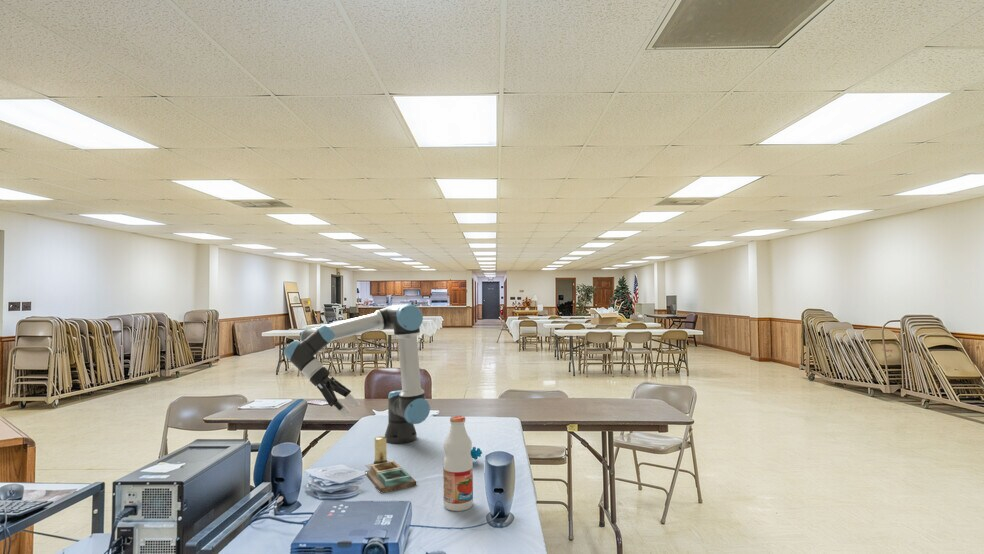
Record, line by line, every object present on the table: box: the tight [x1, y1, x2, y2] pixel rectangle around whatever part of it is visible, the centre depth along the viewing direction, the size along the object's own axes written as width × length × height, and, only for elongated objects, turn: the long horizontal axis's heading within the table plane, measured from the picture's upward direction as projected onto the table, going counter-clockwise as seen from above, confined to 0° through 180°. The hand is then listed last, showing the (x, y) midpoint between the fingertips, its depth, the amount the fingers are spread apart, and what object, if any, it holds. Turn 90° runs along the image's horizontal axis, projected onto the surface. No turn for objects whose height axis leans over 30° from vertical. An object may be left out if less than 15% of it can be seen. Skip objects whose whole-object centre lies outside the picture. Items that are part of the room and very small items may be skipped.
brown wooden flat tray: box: [364, 460, 417, 494], centre depth 175 cm, size 13×20×4 cm, turn 30°
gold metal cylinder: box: [373, 435, 388, 464], centre depth 189 cm, size 5×5×11 cm
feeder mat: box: [364, 460, 390, 470], centre depth 189 cm, size 10×9×1 cm
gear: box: [471, 446, 483, 461], centre depth 191 cm, size 11×6×10 cm
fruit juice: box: [442, 415, 474, 512], centre depth 153 cm, size 9×9×28 cm
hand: (353, 410), depth 190 cm, fingers open, 13 cm apart
